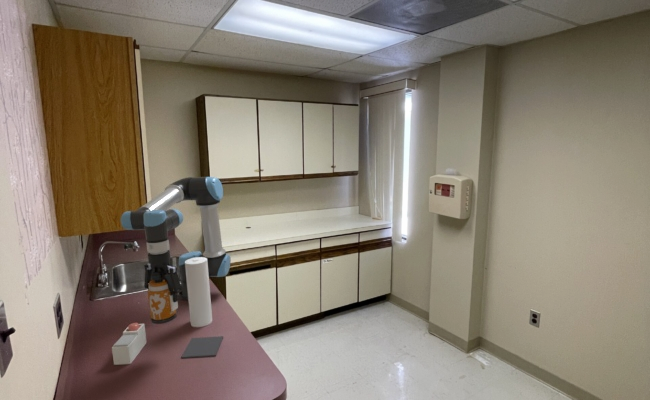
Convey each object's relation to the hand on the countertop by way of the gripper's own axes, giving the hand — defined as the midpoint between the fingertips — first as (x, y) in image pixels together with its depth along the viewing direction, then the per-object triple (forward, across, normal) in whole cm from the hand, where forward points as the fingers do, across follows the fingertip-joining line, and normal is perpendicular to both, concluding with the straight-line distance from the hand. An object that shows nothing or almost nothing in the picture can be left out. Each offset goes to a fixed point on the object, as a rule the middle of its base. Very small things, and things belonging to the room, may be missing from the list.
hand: (164, 307), depth 133 cm
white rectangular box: (+19, -14, -6) cm, 24 cm away
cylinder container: (+19, -4, +23) cm, 30 cm away
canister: (+5, 0, 0) cm, 5 cm away
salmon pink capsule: (+17, -16, -2) cm, 23 cm away
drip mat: (+19, +11, +7) cm, 23 cm away
